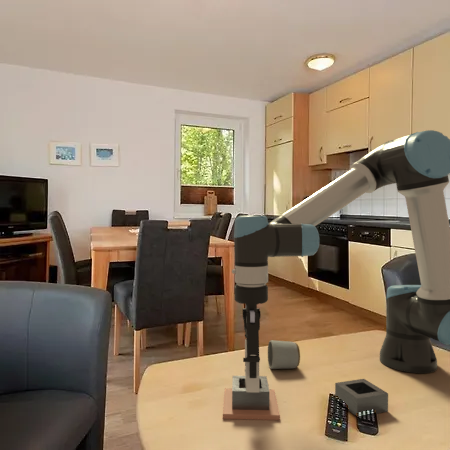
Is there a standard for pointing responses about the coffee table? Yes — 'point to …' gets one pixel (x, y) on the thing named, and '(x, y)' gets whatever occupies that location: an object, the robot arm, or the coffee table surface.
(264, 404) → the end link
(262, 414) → the brown base with peg
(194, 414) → the coffee table surface
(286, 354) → the ceramic mug
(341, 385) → the grey square hollow block
